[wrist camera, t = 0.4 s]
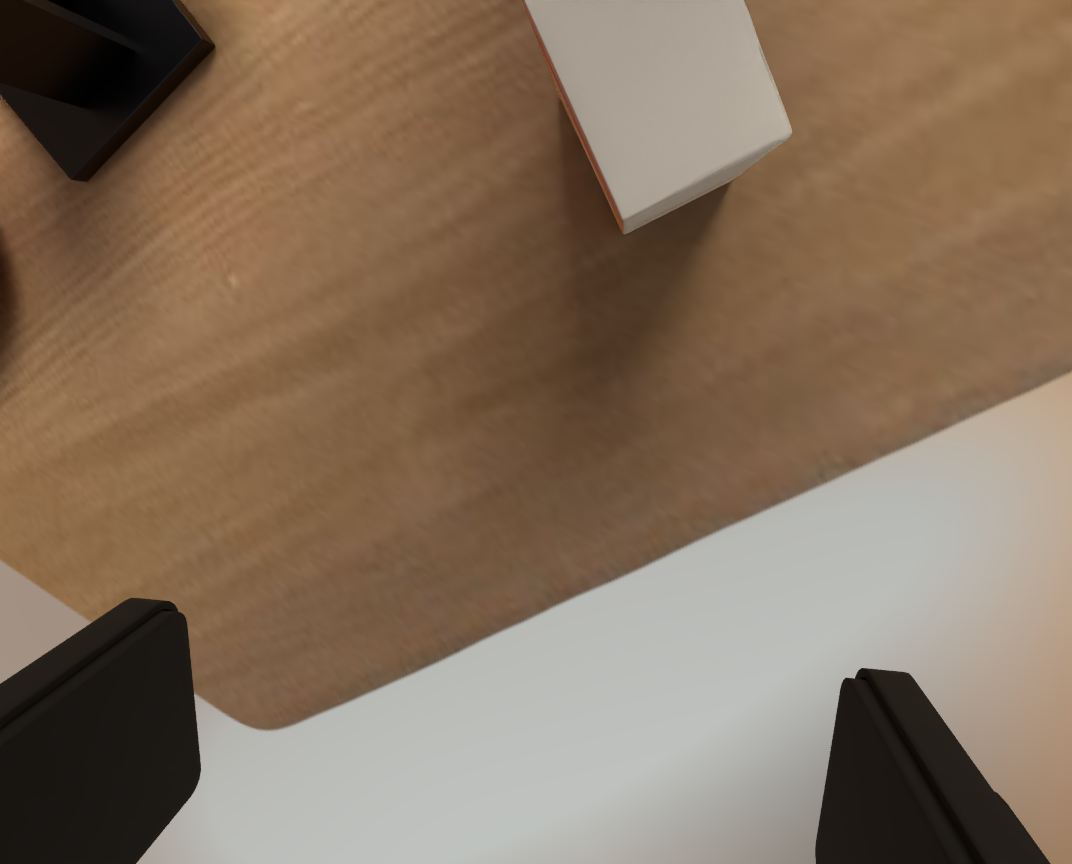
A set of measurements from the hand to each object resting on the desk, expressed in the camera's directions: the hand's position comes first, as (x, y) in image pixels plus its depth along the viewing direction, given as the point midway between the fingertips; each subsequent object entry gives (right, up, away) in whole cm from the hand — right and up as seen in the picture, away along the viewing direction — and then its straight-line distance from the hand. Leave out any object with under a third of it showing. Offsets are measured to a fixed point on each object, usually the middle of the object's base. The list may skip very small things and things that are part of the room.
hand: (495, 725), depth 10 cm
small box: (+6, +19, +25) cm, 32 cm away
